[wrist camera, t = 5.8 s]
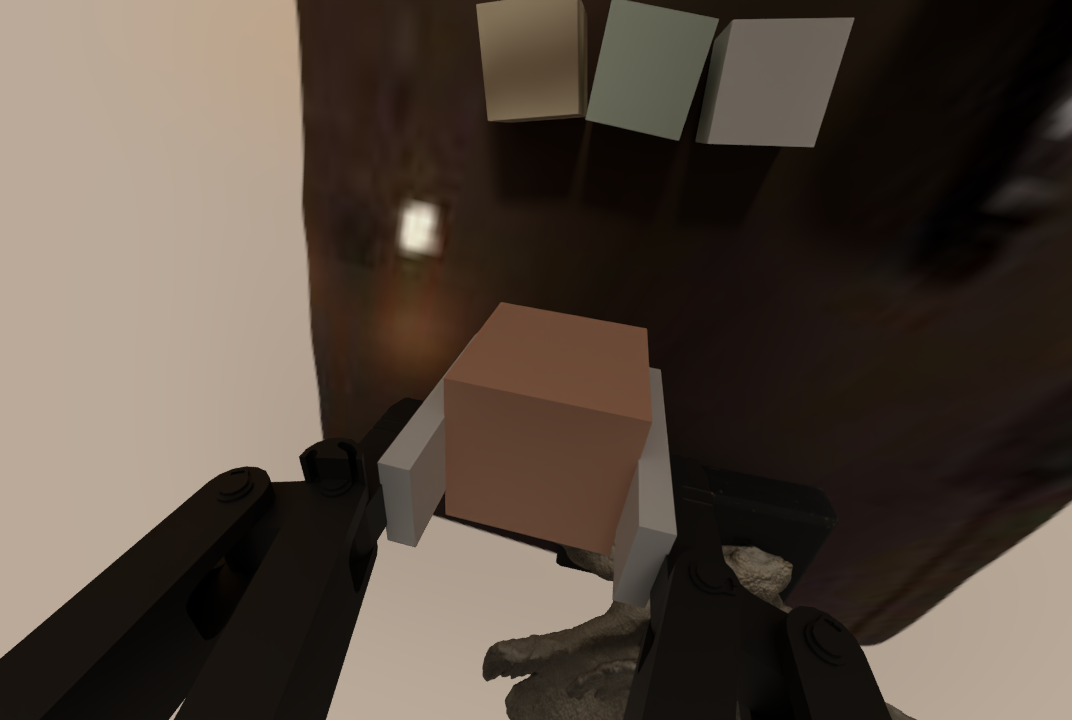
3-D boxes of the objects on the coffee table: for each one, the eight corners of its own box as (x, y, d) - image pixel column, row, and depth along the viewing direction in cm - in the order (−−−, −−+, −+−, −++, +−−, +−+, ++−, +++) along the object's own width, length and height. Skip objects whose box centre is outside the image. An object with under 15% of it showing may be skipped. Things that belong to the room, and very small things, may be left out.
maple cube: (503, 26, 25) (476, 4, 20) (587, 15, 24) (577, -11, 19) (511, 122, 27) (488, 120, 23) (587, 116, 26) (578, 113, 22)
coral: (529, 526, 46) (458, 793, 27) (553, 372, 35) (467, 630, 17) (763, 586, 42) (863, 931, 24) (864, 435, 32) (1168, 835, 14)
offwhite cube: (714, 40, 23) (733, 19, 19) (811, 40, 22) (854, 17, 18) (695, 141, 25) (707, 143, 21) (782, 144, 25) (813, 147, 20)
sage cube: (616, 22, 23) (612, -3, 19) (703, 40, 23) (719, 18, 19) (593, 121, 26) (585, 119, 22) (671, 139, 26) (679, 140, 21)
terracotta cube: (501, 302, 14) (443, 378, 10) (646, 328, 14) (652, 421, 9) (493, 415, 17) (445, 514, 12) (616, 442, 16) (609, 555, 12)
